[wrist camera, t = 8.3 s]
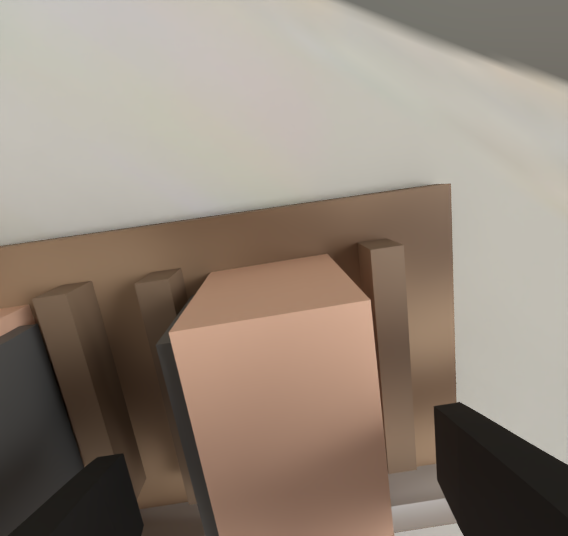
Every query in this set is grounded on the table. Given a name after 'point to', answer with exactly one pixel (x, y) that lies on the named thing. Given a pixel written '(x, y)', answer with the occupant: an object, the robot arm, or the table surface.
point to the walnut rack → (186, 282)
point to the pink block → (30, 422)
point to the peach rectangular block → (280, 402)
